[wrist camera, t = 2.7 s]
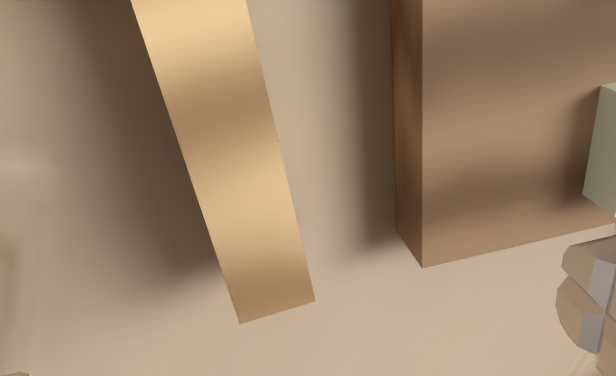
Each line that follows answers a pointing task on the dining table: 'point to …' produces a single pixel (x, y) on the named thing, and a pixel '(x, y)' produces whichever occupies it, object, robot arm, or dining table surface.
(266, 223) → the wooden plank piece
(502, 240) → the board
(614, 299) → the robot arm
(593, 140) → the tile
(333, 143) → the dining table surface
